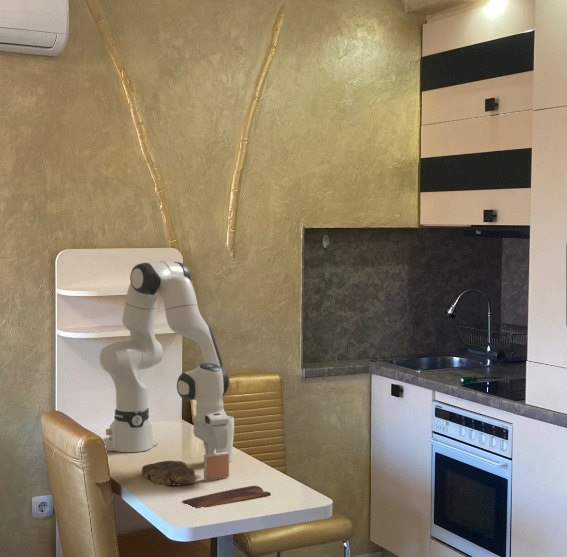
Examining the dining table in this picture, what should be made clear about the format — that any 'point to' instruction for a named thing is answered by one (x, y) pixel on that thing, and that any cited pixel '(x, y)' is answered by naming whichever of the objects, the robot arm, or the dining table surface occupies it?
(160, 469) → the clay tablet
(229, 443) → the drinking glass
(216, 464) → the tile
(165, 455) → the dining table surface
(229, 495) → the wooden tablet
